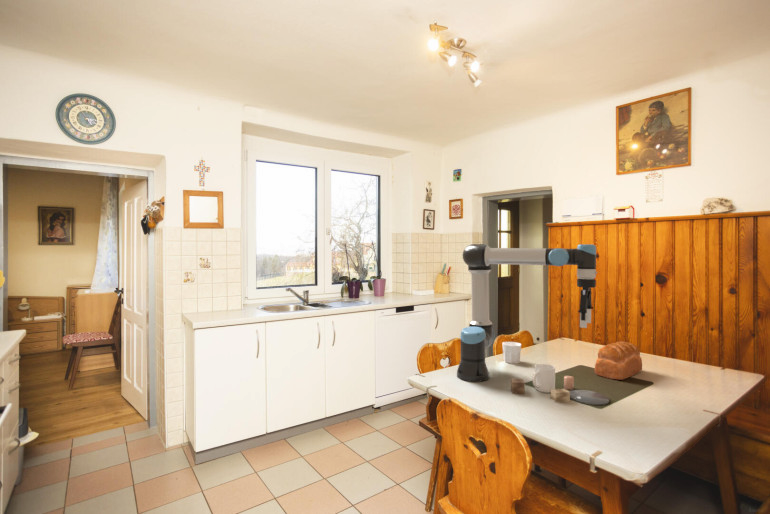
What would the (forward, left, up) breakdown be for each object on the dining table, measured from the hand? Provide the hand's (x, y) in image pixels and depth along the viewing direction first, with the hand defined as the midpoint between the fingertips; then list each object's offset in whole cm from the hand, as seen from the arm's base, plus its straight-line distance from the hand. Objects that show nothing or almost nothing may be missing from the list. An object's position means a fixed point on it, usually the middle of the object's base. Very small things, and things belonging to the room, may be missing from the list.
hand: (585, 325), depth 176 cm
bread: (+14, +29, -28) cm, 43 cm away
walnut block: (-25, -23, -28) cm, 44 cm away
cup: (-37, +23, -28) cm, 52 cm away
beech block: (-8, -24, -28) cm, 38 cm away
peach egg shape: (-6, -7, -28) cm, 29 cm away
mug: (-16, -16, -28) cm, 36 cm away
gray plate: (+2, -16, -28) cm, 32 cm away
